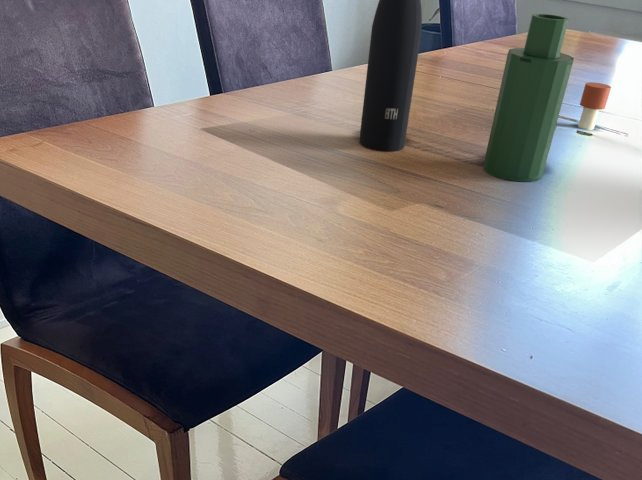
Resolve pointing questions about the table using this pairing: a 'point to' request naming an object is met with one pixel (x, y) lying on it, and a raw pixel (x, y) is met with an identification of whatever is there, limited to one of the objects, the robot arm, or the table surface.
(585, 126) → the stopper
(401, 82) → the black tall cylinder
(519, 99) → the green bottle
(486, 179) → the table surface
